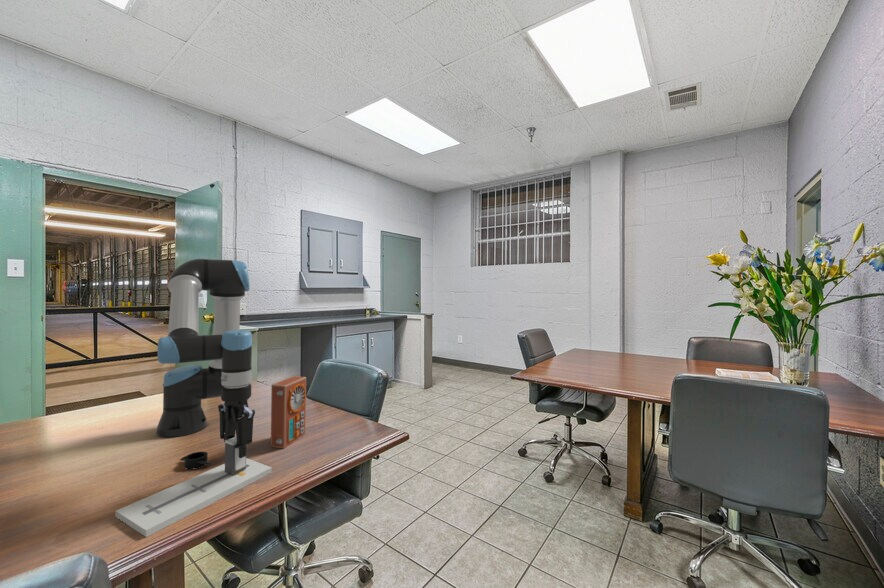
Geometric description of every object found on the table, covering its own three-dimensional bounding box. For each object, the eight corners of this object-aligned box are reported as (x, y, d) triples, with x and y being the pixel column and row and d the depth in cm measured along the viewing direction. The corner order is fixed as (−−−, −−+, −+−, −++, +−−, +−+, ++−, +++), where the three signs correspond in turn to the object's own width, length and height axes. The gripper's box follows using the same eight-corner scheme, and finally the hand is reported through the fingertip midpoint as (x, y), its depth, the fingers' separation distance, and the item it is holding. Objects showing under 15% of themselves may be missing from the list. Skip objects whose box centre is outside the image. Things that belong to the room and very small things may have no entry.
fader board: (115, 517, 83) (115, 510, 83) (241, 461, 111) (241, 455, 111) (146, 537, 77) (146, 529, 77) (271, 472, 105) (271, 467, 105)
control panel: (309, 432, 133) (283, 450, 119) (292, 431, 135) (265, 448, 120) (310, 376, 133) (284, 386, 118) (293, 374, 134) (266, 385, 120)
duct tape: (182, 476, 102) (182, 466, 102) (178, 462, 110) (179, 453, 110) (213, 467, 107) (213, 458, 107) (208, 455, 115) (208, 446, 115)
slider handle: (224, 472, 101) (224, 440, 101) (238, 465, 105) (238, 435, 105) (232, 475, 99) (232, 443, 99) (246, 468, 103) (246, 438, 103)
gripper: (205, 383, 102) (204, 464, 102) (242, 392, 95) (241, 479, 95) (231, 378, 109) (230, 454, 109) (267, 386, 101) (266, 467, 102)
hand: (235, 465), depth 102 cm, fingers closed on slider handle, 3 cm apart
